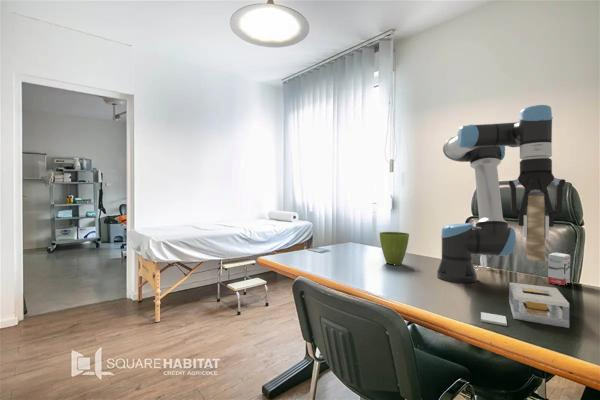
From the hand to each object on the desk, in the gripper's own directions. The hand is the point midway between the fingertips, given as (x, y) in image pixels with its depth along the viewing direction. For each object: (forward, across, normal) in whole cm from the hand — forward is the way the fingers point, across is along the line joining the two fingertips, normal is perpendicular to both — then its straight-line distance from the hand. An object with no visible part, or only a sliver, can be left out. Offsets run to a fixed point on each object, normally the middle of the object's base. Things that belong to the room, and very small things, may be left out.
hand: (535, 237), depth 89 cm
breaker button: (+21, 0, 0) cm, 21 cm away
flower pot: (+22, -53, +47) cm, 74 cm away
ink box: (+23, +13, +45) cm, 52 cm away
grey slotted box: (+23, 0, 0) cm, 23 cm away
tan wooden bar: (+7, 0, 0) cm, 7 cm away
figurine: (+22, -13, +59) cm, 65 cm away
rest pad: (+23, -11, -12) cm, 28 cm away
